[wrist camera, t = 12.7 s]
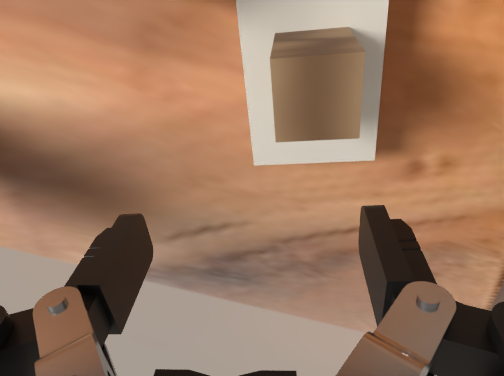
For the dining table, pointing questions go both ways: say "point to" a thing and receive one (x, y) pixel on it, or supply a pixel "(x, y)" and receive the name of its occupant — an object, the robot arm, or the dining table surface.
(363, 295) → the dining table surface
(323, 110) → the walnut block
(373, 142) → the white block
